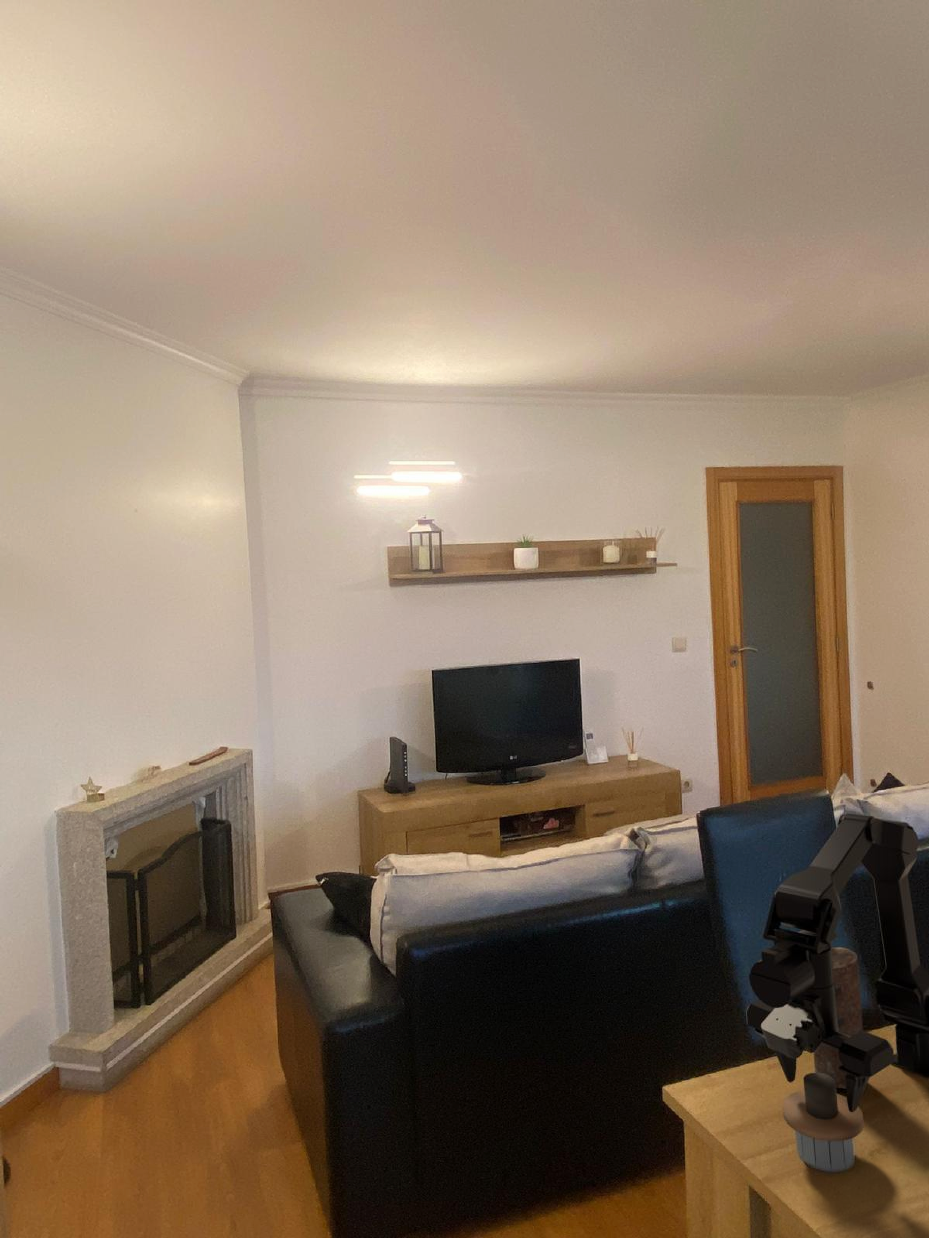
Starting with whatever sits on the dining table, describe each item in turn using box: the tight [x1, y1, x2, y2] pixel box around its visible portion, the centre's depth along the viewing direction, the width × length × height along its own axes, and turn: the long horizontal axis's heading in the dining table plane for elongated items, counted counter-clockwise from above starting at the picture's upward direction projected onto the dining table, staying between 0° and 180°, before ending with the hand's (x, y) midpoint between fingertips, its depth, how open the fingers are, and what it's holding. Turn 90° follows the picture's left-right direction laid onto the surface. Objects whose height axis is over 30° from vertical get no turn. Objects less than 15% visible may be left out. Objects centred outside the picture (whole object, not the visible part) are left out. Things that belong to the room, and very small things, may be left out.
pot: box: [795, 1131, 856, 1173], centre depth 113 cm, size 7×7×5 cm
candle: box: [813, 946, 864, 1089], centre depth 129 cm, size 8×7×20 cm
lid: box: [782, 1072, 865, 1141], centre depth 113 cm, size 10×10×5 cm
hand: (821, 1095), depth 113 cm, fingers open, 9 cm apart
